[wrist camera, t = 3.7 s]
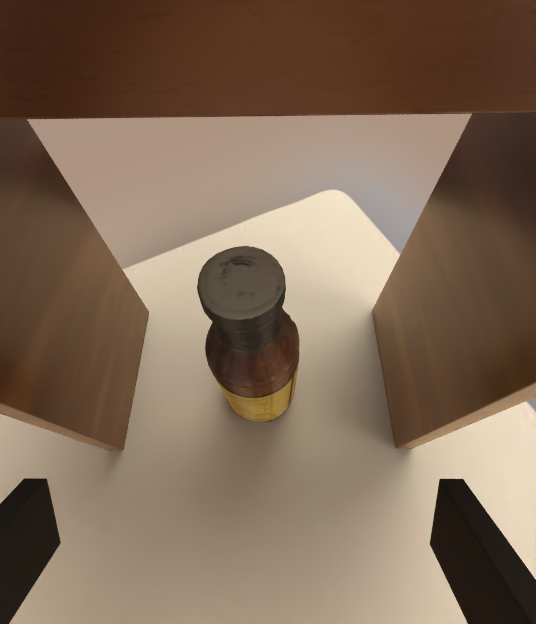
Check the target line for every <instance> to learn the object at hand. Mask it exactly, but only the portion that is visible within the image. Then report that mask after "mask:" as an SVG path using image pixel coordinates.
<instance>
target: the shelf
mask: <svg viewBox="0 0 536 624" xmlns="http://www.w3.org/2000/svg"><path fill="white" fill-rule="evenodd" d="M463 113H464V114H466V113H472V115H471V117H470V119H469V121H468V123H467V125H466V127H465V129H464V131H463V133H462V135H461V137H460V139H459V141H458V143H457V145H456V147H455V149H454V151H453V153H452V154H451V157H450V158H449V161H448V163H447V165H446V166H445V168H444V171H443V172H442V174H441V176H440V178H439V180H438V182H437V184H436V186H435V188H434V190H433V192H432V194H431V196H430V198H429V200H428V202H427V204H426V206H425V208H424V210H423V212H422V214H421V216H420V217H419V219H418V222H417V223H416V225H415V228H414V229H413V231H412V233H411V235H410V237H409V239H408V241H407V243H406V245H405V247H404V249H403V251H402V253H401V255H400V257H399V259H398V261H397V263H396V265H395V267H394V269H393V271H392V272H391V274H390V276H389V278H388V280H387V282H386V284H385V286H384V288H383V290H382V292H381V294H380V296H379V298H378V300H377V302H376V304H375V306H374V308H373V310H372V312H373V318H374V324H375V329H376V335H377V341H378V347H379V353H380V358H381V364H382V370H383V376H384V382H385V388H386V393H387V399H388V405H389V411H390V417H391V423H392V428H393V434H394V440H395V446H396V448H397V449H412V448H415V447H417V446H419V445H422V444H424V443H427V442H429V441H431V440H434V439H436V438H438V437H441V436H443V435H446V434H448V433H450V432H453V431H455V430H458V429H460V428H462V427H465V426H467V425H470V424H472V423H474V422H477V421H479V420H482V419H484V418H486V417H489V416H491V415H494V414H496V413H498V412H501V411H503V410H506V409H508V408H510V407H513V406H515V405H518V404H520V403H522V402H525V401H527V400H529V399H532V398H534V397H536V0H0V414H3V415H6V416H9V417H12V418H15V419H17V420H20V421H23V422H26V423H29V424H32V425H35V426H38V427H41V428H44V429H47V430H50V431H53V432H55V433H58V434H61V435H64V436H67V437H70V438H73V439H76V440H79V441H82V442H85V443H88V444H90V445H93V446H96V447H99V448H102V449H105V450H123V449H124V443H125V438H126V433H127V427H128V422H129V416H130V411H131V406H132V400H133V395H134V390H135V384H136V379H137V374H138V368H139V363H140V358H141V352H142V347H143V342H144V336H145V331H146V326H147V320H148V315H149V311H148V310H147V308H146V307H145V305H144V303H143V302H142V300H141V299H140V297H139V296H138V294H137V292H136V291H135V289H134V288H133V286H132V285H131V283H130V281H129V280H128V278H127V277H126V275H125V273H124V272H123V270H122V269H121V267H120V266H119V264H118V262H117V261H116V259H115V258H114V256H113V255H112V253H111V251H110V250H109V249H108V247H107V245H106V244H105V242H104V240H103V239H102V237H101V236H100V234H99V233H98V231H97V230H96V228H95V226H94V225H93V223H92V222H91V220H90V218H89V217H88V215H87V213H86V212H85V210H84V209H83V207H82V206H81V204H80V203H79V201H78V200H77V198H76V196H75V195H74V193H73V192H72V190H71V188H70V187H69V185H68V184H67V182H66V181H65V179H64V177H63V176H62V174H61V172H60V171H59V169H58V168H57V166H56V165H55V163H54V161H53V160H52V158H51V157H50V155H49V154H48V152H47V150H46V149H45V147H44V146H43V144H42V142H41V141H40V139H39V138H38V136H37V135H36V133H35V131H34V130H33V128H32V127H31V125H30V124H29V122H28V121H27V119H69V118H70V119H71V118H73V119H74V118H151V117H152V118H153V117H225V116H227V117H229V116H230V117H231V116H304V115H305V116H307V115H308V116H309V115H386V114H463Z"/></svg>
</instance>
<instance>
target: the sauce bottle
mask: <svg viewBox="0 0 536 624" xmlns="http://www.w3.org/2000/svg"><path fill="white" fill-rule="evenodd" d="M197 290H198V295H199V298H200V301H201V304H202V307H203V309H204V312H205V313H206V315H207V316H208V317H209V318H210V319H211V320H212V322H213V323H212V325H211V327H210V329H209V331H208V334H207V338H206V345H205V350H206V357H207V361H208V365H209V367H210V369H211V371H212V373H213V375H214V377H215V378H216V380H217V382H218V384H219V385H220V387H221V389H222V391H223V393H224V395H225V396H226V398H227V400H228V402H229V404H230V405H231V407H232V408H233V410H234V411H235V412H236V413H237V414H239V415H240V416H241V417H243V418H245V419H247V420H250V421H254V422H270V421H272V420H273V419H275V418H277V417H278V416H279V415H281V414H282V413H283V412H284V411H285V410H286V409H287V408H288V407H289V405H290V402H291V400H292V398H293V394H294V389H295V383H296V376H297V369H298V362H299V335H298V330H297V327H296V324H295V323H294V322H293V321H292V320H291V319H290V316H289V315H288V314H287V313H286V312H285V311H284V310H283V308H282V305H283V303H284V299H285V290H286V287H285V275H284V273H283V269H282V267H281V266H280V264H279V263H278V261H277V260H276V259H275V258H274V257H273V256H272V255H271V254H269V253H267V252H265V251H264V250H262V249H258V248H255V247H249V246H242V247H234V248H230V249H227V250H225V251H222V252H220V253H217V254H216V255H214V256H213V257H212V258H210V259H209V260H208V261H207V262H206V263H205V265H204V266H203V268H202V270H201V272H200V274H199V279H198V286H197Z"/></svg>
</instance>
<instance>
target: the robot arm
mask: <svg viewBox="0 0 536 624" xmlns="http://www.w3.org/2000/svg"><path fill="white" fill-rule="evenodd" d="M60 543H61V542H60V537H59V533H58V528H57V523H56V519H55V514H54V509H53V505H52V500H51V496H50V491H49V486H48V482H47V479H23V480H22V481H21V483H20V484H19V485H18V486H17V487H16V488H15V489H14V490H13V491H12V492H11V493H10V494H9V495H8V496H7V498H6V499H5V500H4V501H3V502H2V503H1V504H0V624H9V623H10V621H11V620H12V618H13V616H14V615H15V613H16V612H17V610H18V609H19V607H20V606H21V604H22V602H23V601H24V599H25V598H26V596H27V595H28V593H29V592H30V590H31V588H32V587H33V585H34V584H35V582H36V581H37V579H38V577H39V576H40V574H41V573H42V571H43V570H44V568H45V567H46V565H47V563H48V562H49V560H50V559H51V557H52V556H53V554H54V552H55V551H56V549H57V548H58V546H59V545H60ZM430 545H431V547H432V550H433V552H434V554H435V556H436V558H437V560H438V562H439V564H440V566H441V568H442V570H443V572H444V575H445V577H446V579H447V581H448V583H449V585H450V587H451V589H452V591H453V593H454V595H455V597H456V600H457V602H458V604H459V606H460V608H461V610H462V612H463V614H464V616H465V618H466V620H467V623H468V624H536V580H535V578H534V577H533V575H532V574H531V573H530V571H529V570H528V568H527V567H526V566H525V564H524V563H523V562H522V560H521V559H520V557H519V556H518V555H517V553H516V552H515V550H514V549H513V548H512V546H511V545H510V543H509V542H508V541H507V539H506V538H505V537H504V535H503V534H502V532H501V531H500V530H499V528H498V527H497V525H496V524H495V523H494V521H493V520H492V519H491V517H490V516H489V514H488V513H487V512H486V510H485V509H484V507H483V506H482V505H481V503H480V502H479V501H478V499H477V498H476V496H475V495H474V494H473V492H472V491H471V489H470V488H469V487H468V485H467V484H466V483H465V481H464V480H463V479H440V480H439V487H438V494H437V500H436V507H435V513H434V520H433V526H432V533H431V540H430Z"/></svg>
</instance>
